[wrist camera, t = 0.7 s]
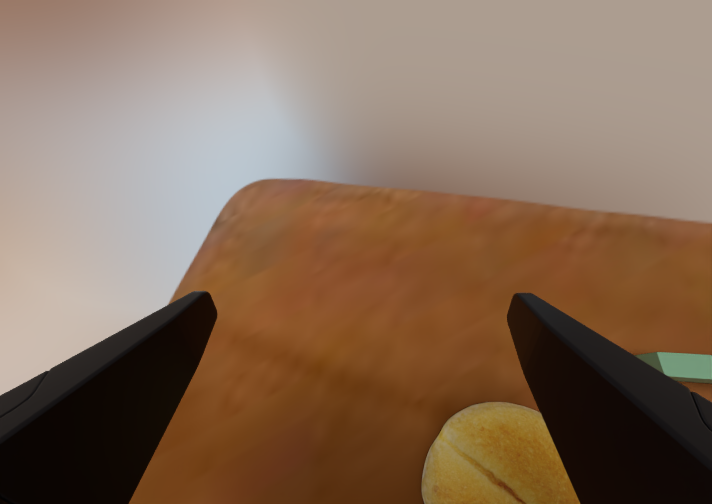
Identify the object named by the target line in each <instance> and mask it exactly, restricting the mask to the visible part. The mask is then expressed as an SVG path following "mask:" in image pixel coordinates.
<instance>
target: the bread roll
mask: <svg viewBox="0 0 712 504" xmlns="http://www.w3.org/2000/svg"><path fill="white" fill-rule="evenodd" d="M421 486H422V497H423V500H424V504H580V502H579V500H578V498H577V495H576V493H575V491H574V488H573V486H572V484H571V482H570V479H569V477H568V475H567V472H566V470H565V468H564V466H563V463H562V461H561V459H560V456H559V454H558V452H557V449H556V447H555V445H554V443H553V440H552V438H551V436H550V433H549V431H548V429H547V427H546V424H545V422H544V420H543V417H542V415H541V413H540V412H537V411H535V410H533V409H530V408H527V407H524V406H521V405H516V404H513V403H507V402H485V403H480V404H475V405H472V406H469V407H467V408H465V409H463V410H461V411H459V412H457V413H456V414H455V415H453V416H452V417H451V418H449V419H448V420H447V422H446V423H445V424H444V426H443V428H442V430H441V431H440V433H439V435H438V437H437V438H436V439H435V441H434V443H433V444H432V445H431V447H430V449H429V452H428V454H427V457H426V461H425V464H424V469H423V475H422V485H421Z"/></svg>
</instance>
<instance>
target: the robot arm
mask: <svg viewBox="0 0 712 504" xmlns="http://www.w3.org/2000/svg"><path fill="white" fill-rule="evenodd" d="M216 319H217V310H216V307H215V305H214V302H213V300H212V297H211V295H210V293H208V292H207V291H194V292H191V293H189V294H188V295H186V296H184V297H182V298H180V299H178V300H176V301H175V302H173V303H171V304H169V305H167V306H165V307H164V308H162V309H160V310H158V311H156V312H154V313H153V314H151V315H149V316H147V317H145V318H143V319H141V320H140V321H138V322H136V323H134V324H132V325H130V326H129V327H127V328H125V329H123V330H121V331H119V332H118V333H116V334H114V335H112V336H110V337H108V338H106V339H105V340H103V341H101V342H99V343H97V344H95V345H94V346H92V347H90V348H88V349H86V350H84V351H82V352H81V353H79V354H77V355H75V356H73V357H71V358H70V359H68V360H66V361H64V362H62V363H60V364H59V365H57V366H55V367H53V368H51V369H50V371H45V372H44V373H42V374H40V375H38V376H36V377H34V378H33V379H31V380H29V381H27V382H25V383H23V384H21V385H20V386H18V387H16V388H14V389H12V390H10V391H8V392H6V393H4V394H2V395H1V396H0V504H129V502H130V500H131V498H132V496H133V494H134V492H135V490H136V488H137V486H138V484H139V482H140V480H141V478H142V476H143V474H144V472H145V470H146V468H147V466H148V464H149V462H150V460H151V458H152V456H153V454H154V452H155V450H156V448H157V446H158V444H159V442H160V440H161V438H162V436H163V435H164V433H165V431H166V429H167V427H168V425H169V423H170V421H171V419H172V417H173V415H174V413H175V411H176V409H177V407H178V405H179V403H180V401H181V399H182V397H183V395H184V393H185V391H186V389H187V387H188V385H189V383H190V381H191V379H192V377H193V375H194V373H195V371H196V369H197V367H198V365H199V363H200V360H201V358H202V355H203V353H204V350H205V348H206V345H207V343H208V340H209V337H210V335H211V332H212V330H213V327H214V324H215V322H216ZM507 322H508V326H509V329H510V332H511V335H512V339H513V342H514V345H515V348H516V351H517V355H518V358H519V361H520V364H521V367H522V370H523V373H524V376H525V378H526V381H527V383H528V385H529V388H530V390H531V392H532V394H533V397H534V399H535V401H536V404H537V406H538V408H539V410H540V413H541V415H542V417H543V420H544V422H545V424H546V427H547V429H548V431H549V433H550V436H551V438H552V440H553V443H554V445H555V447H556V449H557V452H558V454H559V456H560V459H561V461H562V463H563V466H564V468H565V470H566V472H567V475H568V477H569V479H570V482H571V484H572V486H573V488H574V491H575V493H576V495H577V498H578V500H579V502H580V504H712V402H710V401H708V400H707V399H705V398H703V397H702V396H700V395H699V394H697V393H695V392H690V390H689V389H688V388H687V387H685V386H684V385H682V384H680V383H679V382H677V381H675V380H674V379H672V378H670V377H669V376H667V375H665V374H664V373H662V372H661V371H659V370H657V369H656V368H654V367H652V366H651V365H649V364H647V363H646V362H644V361H642V360H641V359H639V358H637V357H636V356H634V355H633V354H631V353H629V352H628V351H626V350H624V349H623V348H621V347H619V346H618V345H616V344H614V343H613V342H611V341H609V340H608V339H606V338H605V337H603V336H601V335H600V334H598V333H596V332H595V331H593V330H591V329H590V328H588V327H586V326H585V325H583V324H581V323H580V322H578V321H577V320H575V319H573V318H572V317H570V316H568V315H567V314H565V313H563V312H562V311H560V310H558V309H557V308H555V307H554V306H552V305H550V304H549V303H547V302H545V301H544V300H542V299H540V298H539V297H537V296H535V295H534V294H532V293H516V294H514V295H513V298H512V301H511V304H510V307H509V310H508V314H507Z"/></svg>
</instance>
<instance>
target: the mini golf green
mask: <svg viewBox="0 0 712 504" xmlns="http://www.w3.org/2000/svg"><path fill="white" fill-rule="evenodd" d="M635 356H636V357H637V358H639V359H641V360H642V361H644V362H646V363H647V364H649V365H651V366H652V367H654V368H656V369H657V370H659V371H661V372H662V373H664V374H665V375H667V376H669V377H670V378H672V379H674V380H675V381H685V382H698V383H711V384H712V355H699V354H682V353H665V352H654V353H647V354H641V355H635Z"/></svg>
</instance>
